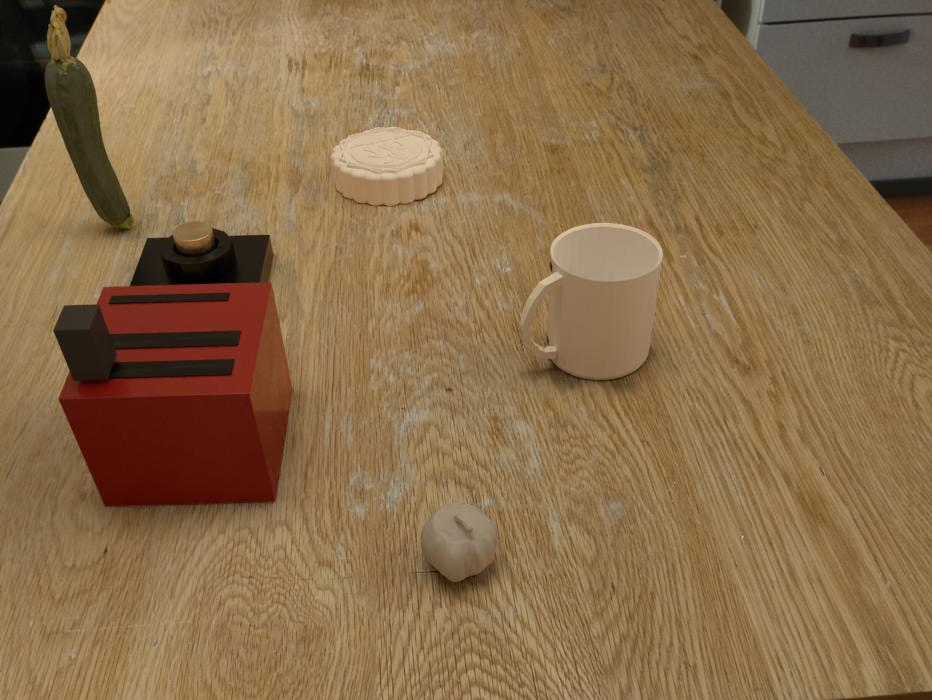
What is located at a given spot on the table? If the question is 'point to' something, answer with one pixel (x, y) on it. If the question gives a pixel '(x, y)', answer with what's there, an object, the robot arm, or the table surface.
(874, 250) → the table surface
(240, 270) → the button block
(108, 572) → the table surface
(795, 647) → the table surface
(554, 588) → the table surface
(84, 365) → the toaster slider
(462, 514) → the garlic
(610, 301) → the mug
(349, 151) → the mooncake
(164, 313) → the toaster
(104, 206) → the vegetable
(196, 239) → the button
